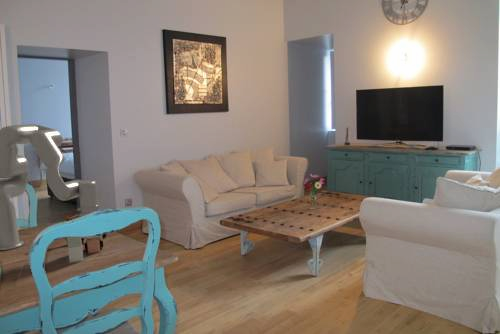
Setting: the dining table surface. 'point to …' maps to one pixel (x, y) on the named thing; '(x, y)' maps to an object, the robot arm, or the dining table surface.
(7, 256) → the dining table surface
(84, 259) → the build mat
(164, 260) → the dining table surface
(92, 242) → the terracotta brick
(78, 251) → the cream brick
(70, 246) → the sage brick
